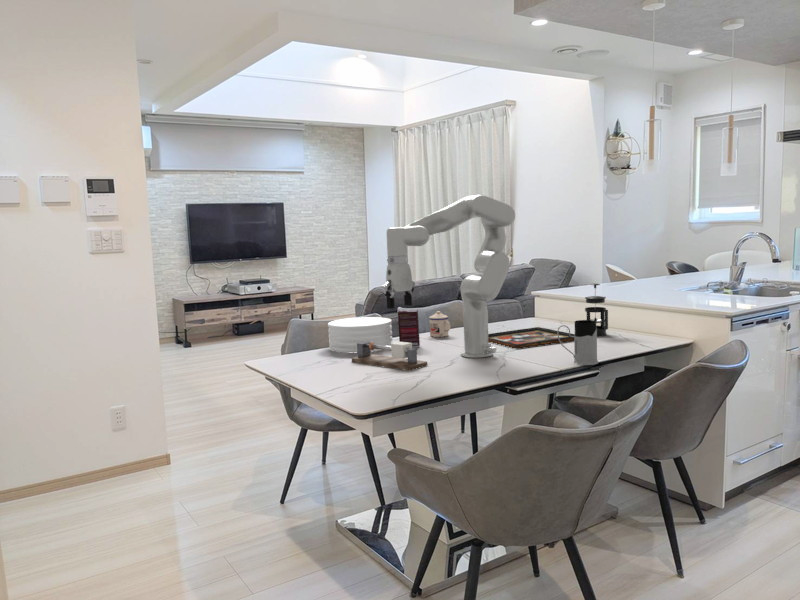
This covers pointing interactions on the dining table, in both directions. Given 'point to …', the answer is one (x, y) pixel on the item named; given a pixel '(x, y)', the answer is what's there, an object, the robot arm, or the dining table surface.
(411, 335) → the supplement box
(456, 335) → the dining table surface
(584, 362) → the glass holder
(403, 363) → the base board
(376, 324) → the plate stack
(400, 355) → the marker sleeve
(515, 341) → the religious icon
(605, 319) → the french press
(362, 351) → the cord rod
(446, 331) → the teacup with lid
